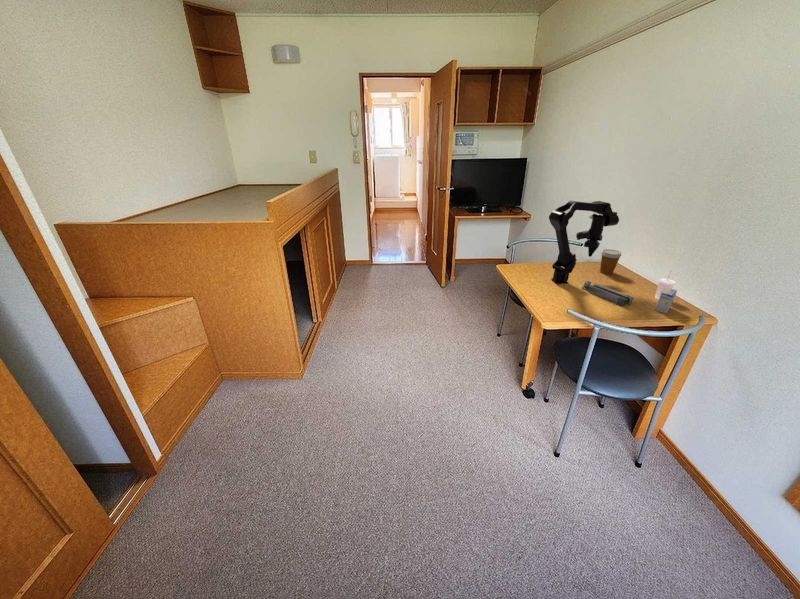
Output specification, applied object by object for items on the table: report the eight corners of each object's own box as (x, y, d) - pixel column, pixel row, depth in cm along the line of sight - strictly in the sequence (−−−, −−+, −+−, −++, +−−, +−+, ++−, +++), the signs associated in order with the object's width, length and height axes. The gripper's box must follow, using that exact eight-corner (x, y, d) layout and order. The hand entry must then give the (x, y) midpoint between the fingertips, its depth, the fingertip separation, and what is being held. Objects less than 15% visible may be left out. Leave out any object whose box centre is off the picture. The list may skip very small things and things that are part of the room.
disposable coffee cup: (619, 275, 182) (625, 254, 177) (602, 275, 183) (607, 254, 177) (610, 269, 191) (615, 249, 186) (593, 269, 191) (598, 249, 186)
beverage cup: (660, 301, 154) (671, 273, 147) (649, 296, 159) (659, 268, 153) (672, 300, 154) (683, 272, 148) (660, 295, 160) (670, 267, 154)
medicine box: (658, 304, 151) (665, 287, 147) (670, 307, 148) (677, 290, 145) (654, 310, 146) (661, 292, 143) (666, 313, 144) (673, 295, 140)
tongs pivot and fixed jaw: (578, 288, 169) (580, 281, 167) (585, 286, 171) (587, 279, 169) (622, 306, 150) (624, 299, 149) (629, 304, 152) (631, 297, 150)
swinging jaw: (591, 289, 166) (592, 284, 165) (594, 288, 167) (596, 283, 166) (628, 304, 152) (630, 298, 150) (631, 302, 153) (633, 297, 151)
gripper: (582, 221, 180) (576, 249, 186) (576, 229, 166) (569, 258, 173) (605, 224, 174) (598, 252, 181) (601, 232, 160) (593, 262, 167)
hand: (589, 256), depth 175 cm, fingers closed
